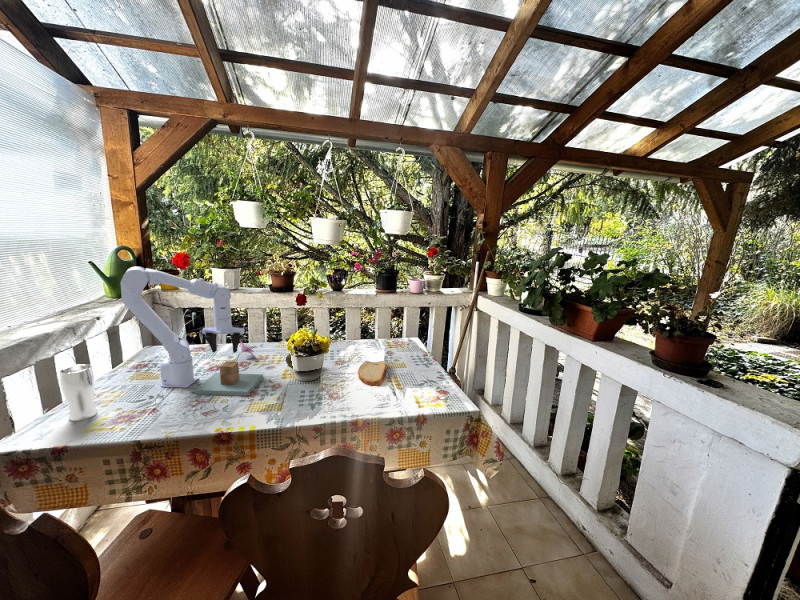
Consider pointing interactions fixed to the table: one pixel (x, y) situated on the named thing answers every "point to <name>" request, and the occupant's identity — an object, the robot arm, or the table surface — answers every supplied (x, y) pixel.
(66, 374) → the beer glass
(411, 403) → the table surface
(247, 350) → the lily
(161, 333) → the robot arm
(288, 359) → the potato
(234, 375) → the walnut block
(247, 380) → the slate board
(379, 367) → the slice of bread
